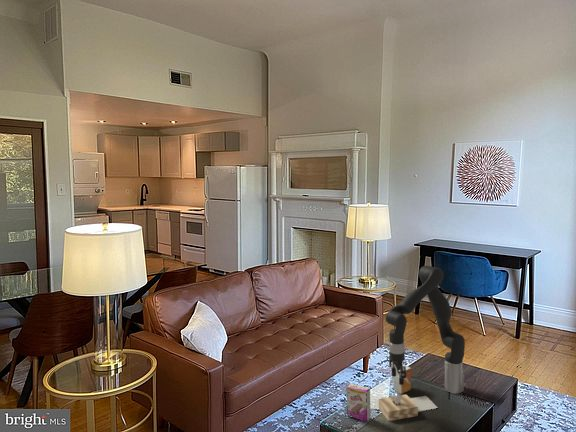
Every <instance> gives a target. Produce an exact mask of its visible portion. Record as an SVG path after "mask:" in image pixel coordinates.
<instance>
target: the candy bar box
mask: <svg viewBox="0 0 576 432" xmlns="http://www.w3.org/2000/svg"><path fill="white" fill-rule="evenodd" d="M347 415H349V416H352V417H354V418H357V419H356V420H358V419H360V420H359V421H361V420H363V421H362V422H364V421H365V423H368V422H369V421H370V419H371V387H368V386H367V387H366V386H363V385H358V384H357V383H356V384H355V383H351V382H349V384H348V385H346V416H347ZM354 418H353V419H354Z"/></svg>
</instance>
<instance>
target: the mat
mask: <svg viewBox="0 0 576 432" xmlns="http://www.w3.org/2000/svg"><path fill="white" fill-rule="evenodd" d="M409 398H410V399H411V400H412V401H413V402H414V403H415V404H416V405H417V406H418V413H420V412H421V413H422V412H427V411H432V410H437V409H436V408H438V406H437V405H436V404H435V403H434V402H433V401H432V400H431V399H430V398H429V397H428V396H427V395H423V396H417V397H409ZM431 409H432V410H431ZM438 409H439V408H438ZM426 410H427V411H426Z"/></svg>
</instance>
